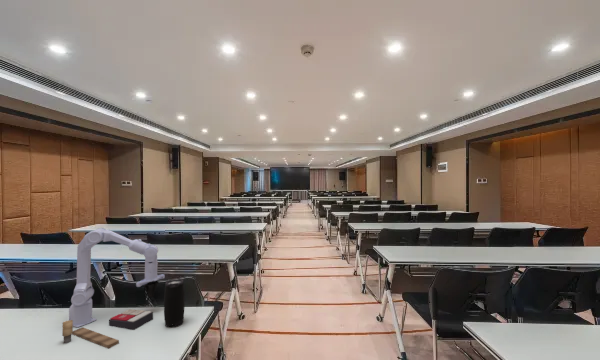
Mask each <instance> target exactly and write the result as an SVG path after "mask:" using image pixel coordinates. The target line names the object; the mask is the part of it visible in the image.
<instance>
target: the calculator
mask: <svg viewBox="0 0 600 360" xmlns="http://www.w3.org/2000/svg"><path fill="white" fill-rule="evenodd" d="M153 319H154V312H153V311H149V310H148V311H147V310H143V309H142V310H140V309H131V308H130V309H126V310H125V311H122V312H121V313H118V314H116V315H114V316H112V317H110V319H108V326H110V327H115V328H121V329H126V330H131V331H135V330H136V329H138V328H140V327H142V326H144V325H146V324H148V323H149V322H151V321H152V320H153Z"/></svg>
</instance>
